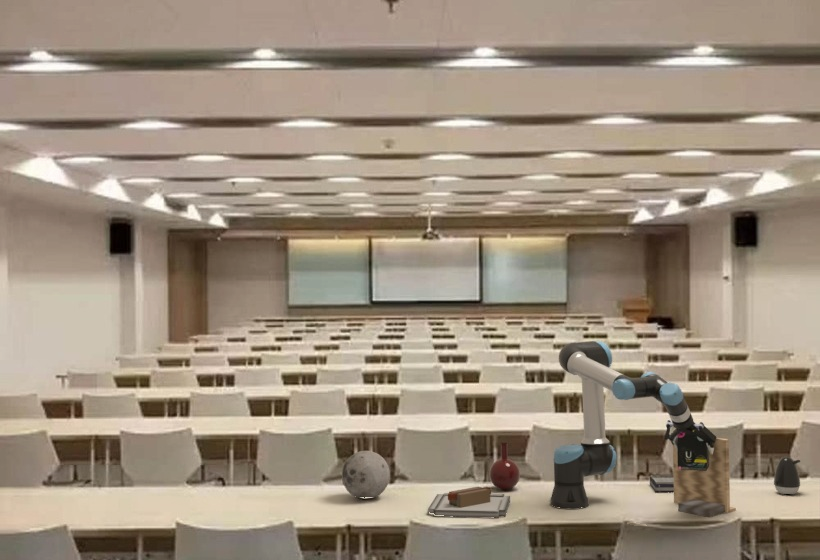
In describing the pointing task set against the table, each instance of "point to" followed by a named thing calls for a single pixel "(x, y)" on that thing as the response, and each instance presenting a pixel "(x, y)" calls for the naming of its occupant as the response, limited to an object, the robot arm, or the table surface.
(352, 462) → the moon model
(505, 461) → the round-bottom flask
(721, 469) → the board
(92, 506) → the table surface
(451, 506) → the grey tray with block
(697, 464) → the tampon box
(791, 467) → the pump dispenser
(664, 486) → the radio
